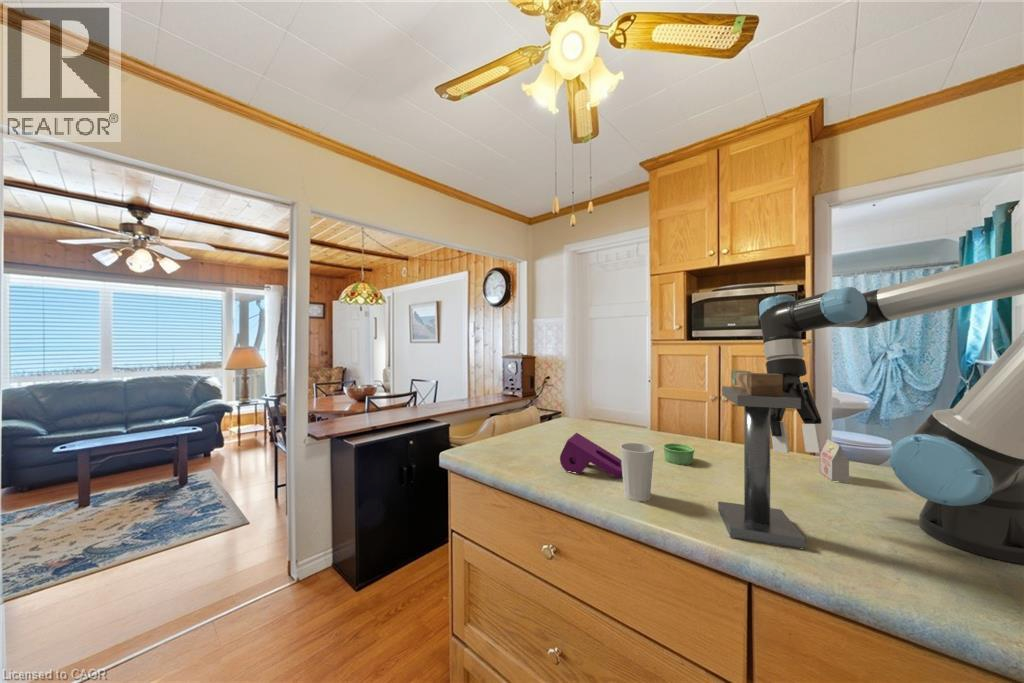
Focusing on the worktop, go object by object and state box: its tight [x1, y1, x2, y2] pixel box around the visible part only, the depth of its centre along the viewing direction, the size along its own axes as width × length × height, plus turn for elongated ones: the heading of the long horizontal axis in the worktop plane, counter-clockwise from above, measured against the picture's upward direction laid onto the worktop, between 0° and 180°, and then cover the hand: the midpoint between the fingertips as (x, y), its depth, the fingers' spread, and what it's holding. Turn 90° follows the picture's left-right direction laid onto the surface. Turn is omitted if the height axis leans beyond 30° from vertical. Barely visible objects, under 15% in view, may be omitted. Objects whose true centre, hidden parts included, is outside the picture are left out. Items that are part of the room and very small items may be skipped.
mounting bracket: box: [559, 432, 623, 479], centre depth 107 cm, size 10×8×18 cm
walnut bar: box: [730, 369, 783, 397], centre depth 79 cm, size 22×5×4 cm, turn 160°
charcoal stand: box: [717, 385, 806, 550], centre depth 74 cm, size 15×12×28 cm
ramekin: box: [663, 442, 695, 466], centre depth 115 cm, size 9×9×4 cm
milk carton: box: [819, 438, 850, 483], centre depth 100 cm, size 4×7×10 cm, turn 161°
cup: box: [619, 442, 655, 502], centre depth 90 cm, size 8×8×12 cm
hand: (797, 452), depth 82 cm, fingers open, 13 cm apart
